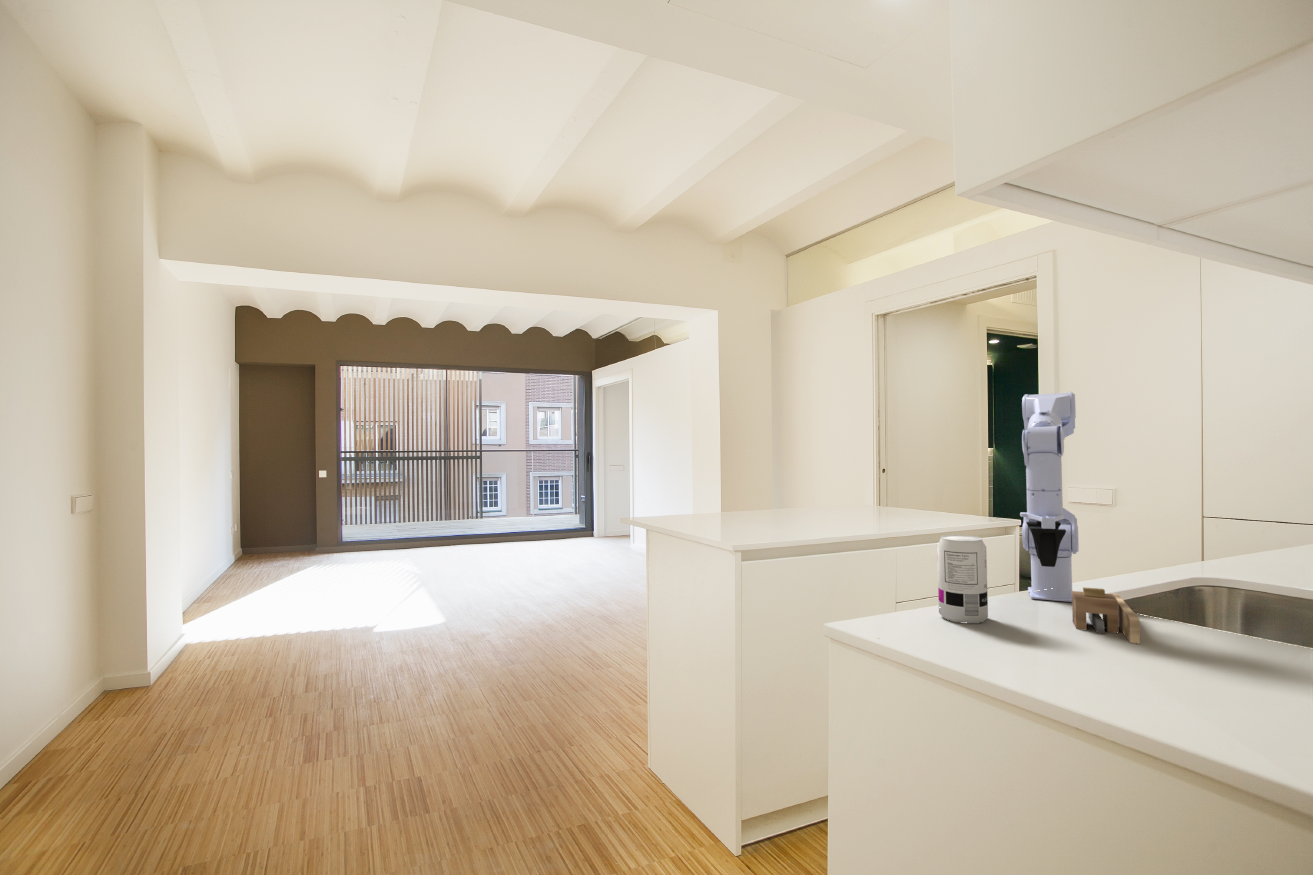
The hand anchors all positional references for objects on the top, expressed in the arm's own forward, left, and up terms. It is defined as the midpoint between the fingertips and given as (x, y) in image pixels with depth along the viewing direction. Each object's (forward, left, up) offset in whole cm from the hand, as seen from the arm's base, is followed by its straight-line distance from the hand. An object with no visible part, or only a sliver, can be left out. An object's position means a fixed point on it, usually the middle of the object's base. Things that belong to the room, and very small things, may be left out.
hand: (1046, 562), depth 117 cm
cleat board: (+4, +9, -10) cm, 14 cm away
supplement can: (+8, -14, -10) cm, 19 cm away
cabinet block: (+5, +7, -10) cm, 13 cm away
